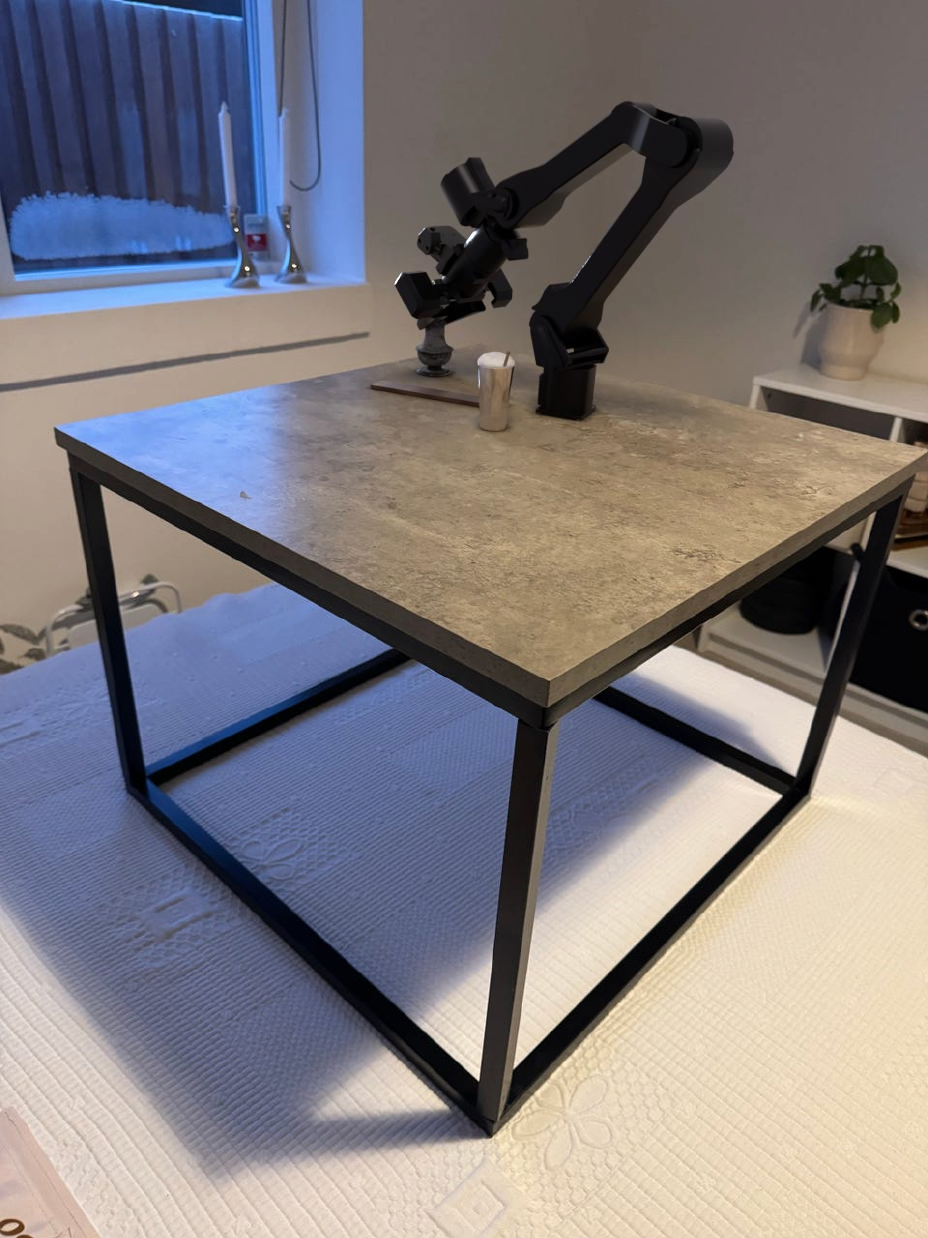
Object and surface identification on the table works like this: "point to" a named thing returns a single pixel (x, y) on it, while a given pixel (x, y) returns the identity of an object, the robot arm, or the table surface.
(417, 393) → the strip
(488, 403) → the milkshake
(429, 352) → the salt shaker
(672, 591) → the table surface
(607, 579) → the table surface
